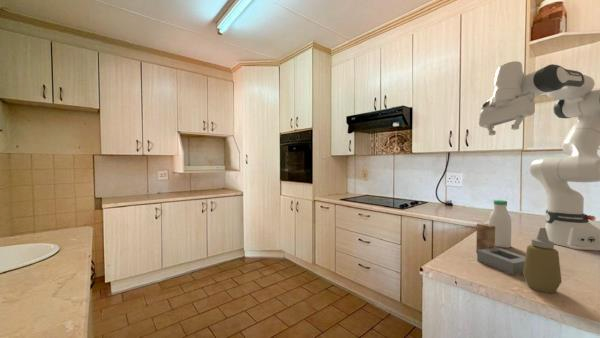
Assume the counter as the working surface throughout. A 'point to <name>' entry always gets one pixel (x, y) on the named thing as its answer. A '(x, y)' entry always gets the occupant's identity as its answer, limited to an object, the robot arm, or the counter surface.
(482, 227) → the wooden block
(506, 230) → the milk bottle
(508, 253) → the grey hollow block
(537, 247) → the squeeze bottle
